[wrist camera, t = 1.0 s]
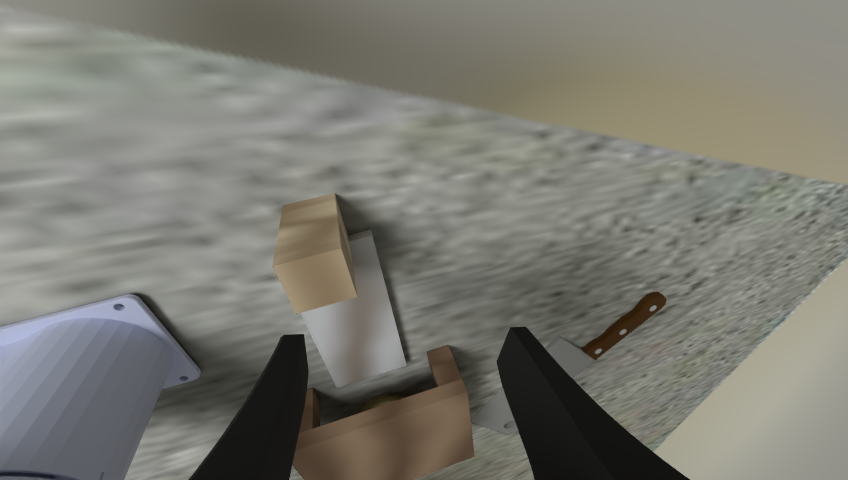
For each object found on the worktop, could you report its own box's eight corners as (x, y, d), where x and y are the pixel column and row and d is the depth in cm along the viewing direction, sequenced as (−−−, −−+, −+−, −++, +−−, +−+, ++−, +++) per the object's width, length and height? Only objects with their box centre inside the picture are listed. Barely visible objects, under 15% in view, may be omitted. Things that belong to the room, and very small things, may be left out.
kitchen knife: (637, 266, 31) (676, 310, 36) (629, 260, 32) (668, 304, 36) (453, 419, 37) (508, 439, 42) (450, 411, 38) (504, 431, 42)
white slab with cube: (336, 379, 29) (340, 452, 24) (256, 212, 19) (236, 275, 14) (404, 358, 30) (422, 424, 25) (359, 187, 20) (374, 240, 15)
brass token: (366, 429, 34) (368, 449, 32) (353, 401, 31) (355, 422, 29) (413, 412, 35) (418, 431, 33) (406, 384, 32) (411, 404, 30)
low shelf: (327, 456, 34) (328, 510, 30) (288, 395, 28) (284, 454, 24) (457, 410, 36) (474, 456, 32) (448, 345, 30) (467, 391, 26)
